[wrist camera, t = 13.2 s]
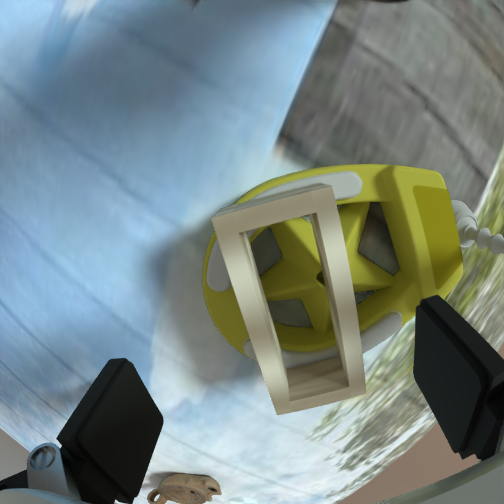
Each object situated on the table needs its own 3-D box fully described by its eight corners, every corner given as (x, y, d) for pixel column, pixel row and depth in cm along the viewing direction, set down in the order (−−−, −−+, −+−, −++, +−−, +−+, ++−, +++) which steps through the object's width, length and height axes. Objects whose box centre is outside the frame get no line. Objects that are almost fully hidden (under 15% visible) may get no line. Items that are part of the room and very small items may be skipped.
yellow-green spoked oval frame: (443, 291, 26) (468, 312, 21) (256, 370, 29) (254, 403, 24) (399, 129, 22) (426, 123, 18) (178, 221, 25) (159, 233, 21)
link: (221, 208, 20) (211, 218, 17) (319, 182, 20) (332, 185, 16) (275, 382, 24) (277, 415, 20) (354, 363, 23) (366, 393, 20)
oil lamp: (209, 463, 34) (204, 491, 29) (234, 486, 36) (231, 512, 31) (139, 470, 36) (130, 493, 31) (166, 493, 38) (160, 514, 33)
